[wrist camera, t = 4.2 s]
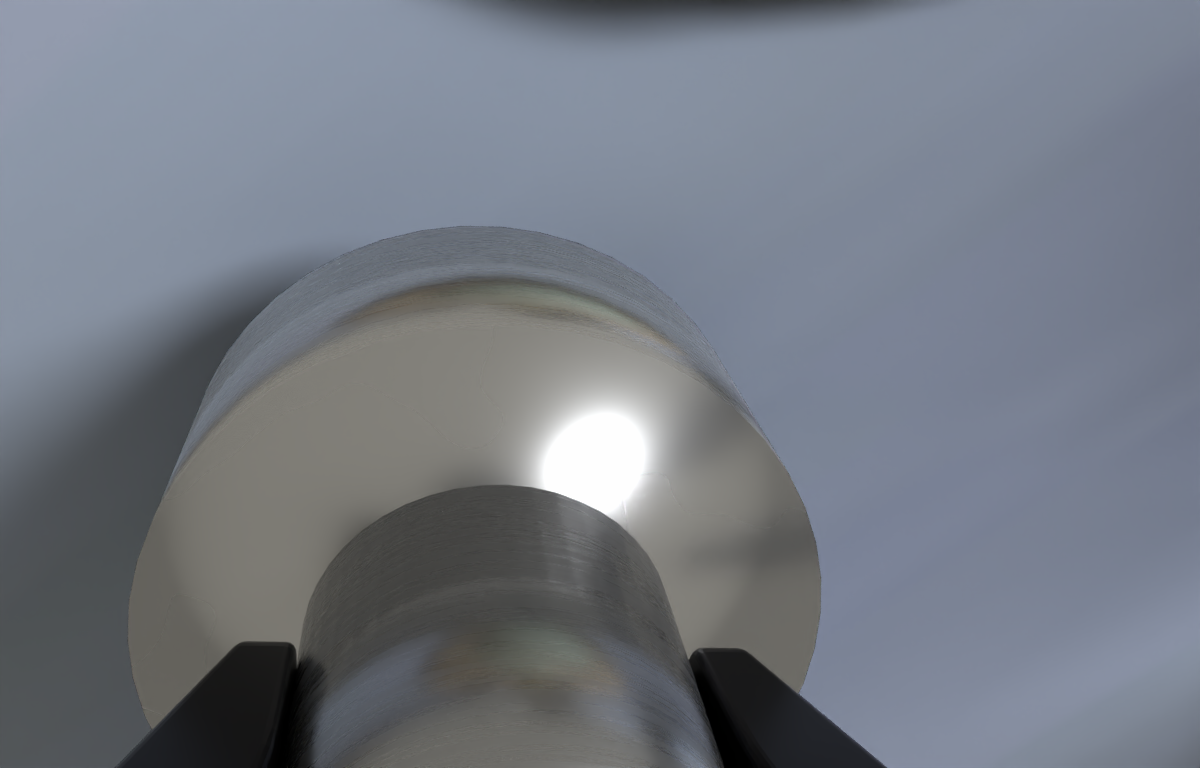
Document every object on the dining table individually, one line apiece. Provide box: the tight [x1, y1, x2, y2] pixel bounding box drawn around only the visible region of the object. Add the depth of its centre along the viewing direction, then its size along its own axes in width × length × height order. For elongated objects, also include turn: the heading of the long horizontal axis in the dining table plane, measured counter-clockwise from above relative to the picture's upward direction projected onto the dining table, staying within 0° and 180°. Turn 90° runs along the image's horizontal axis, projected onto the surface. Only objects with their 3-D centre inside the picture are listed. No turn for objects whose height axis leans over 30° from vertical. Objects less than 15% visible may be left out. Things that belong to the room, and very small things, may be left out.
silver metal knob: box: [128, 226, 821, 768], centre depth 9 cm, size 6×6×6 cm
